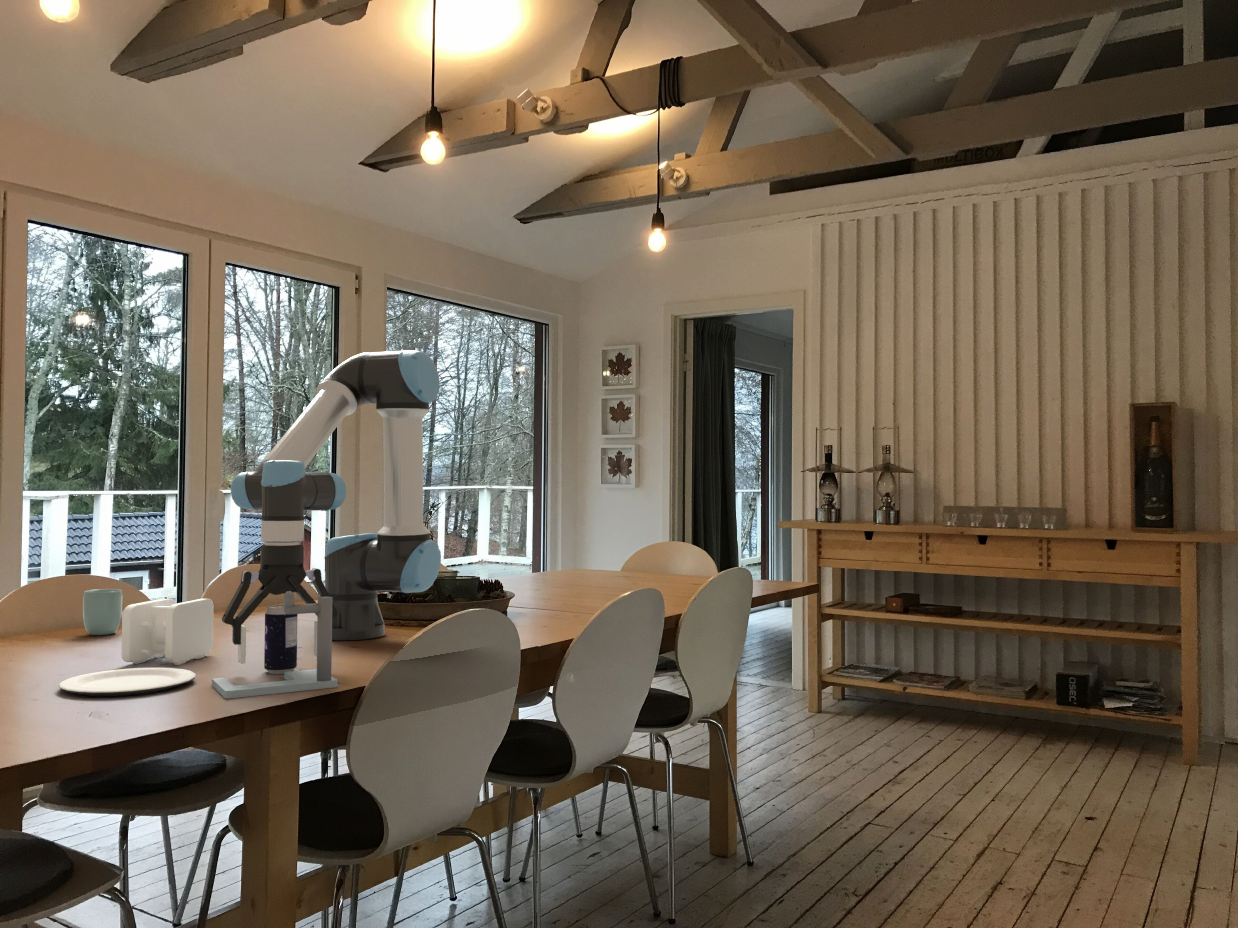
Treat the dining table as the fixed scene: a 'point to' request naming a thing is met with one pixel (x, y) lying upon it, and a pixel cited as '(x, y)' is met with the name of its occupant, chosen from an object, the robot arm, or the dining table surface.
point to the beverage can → (280, 640)
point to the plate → (127, 681)
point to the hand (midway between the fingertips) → (280, 659)
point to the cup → (102, 611)
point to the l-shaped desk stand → (300, 678)
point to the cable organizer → (167, 630)
